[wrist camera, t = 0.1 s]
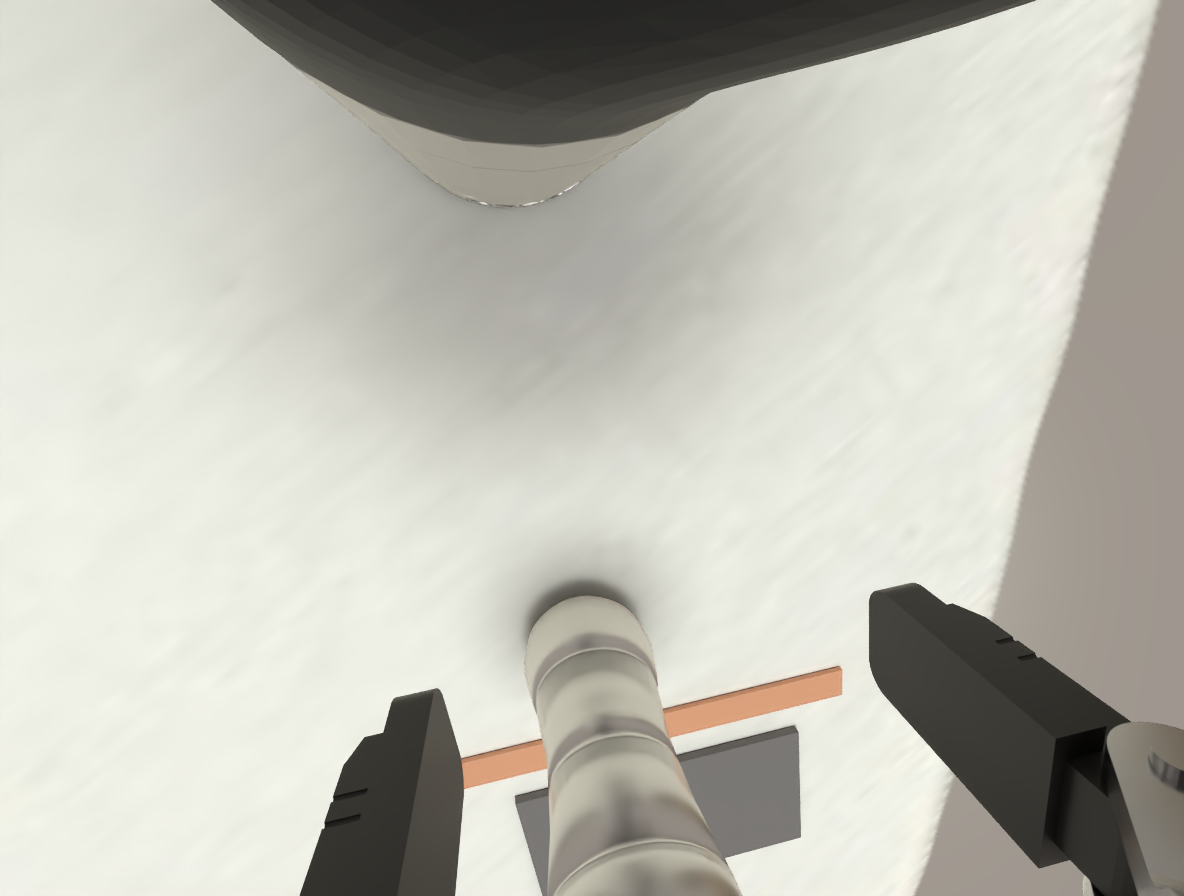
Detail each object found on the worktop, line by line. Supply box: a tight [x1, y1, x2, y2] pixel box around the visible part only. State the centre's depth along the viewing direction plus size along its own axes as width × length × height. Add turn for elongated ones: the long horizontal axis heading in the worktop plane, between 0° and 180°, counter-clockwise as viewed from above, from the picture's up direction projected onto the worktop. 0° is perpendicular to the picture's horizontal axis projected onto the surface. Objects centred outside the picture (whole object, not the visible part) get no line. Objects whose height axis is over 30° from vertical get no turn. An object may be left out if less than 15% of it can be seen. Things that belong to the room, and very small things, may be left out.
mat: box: [515, 726, 801, 896], centre depth 37 cm, size 10×18×1 cm, turn 99°
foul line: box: [461, 667, 842, 789], centre depth 34 cm, size 2×24×1 cm, turn 99°
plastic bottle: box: [524, 595, 742, 896], centre depth 22 cm, size 6×7×20 cm
